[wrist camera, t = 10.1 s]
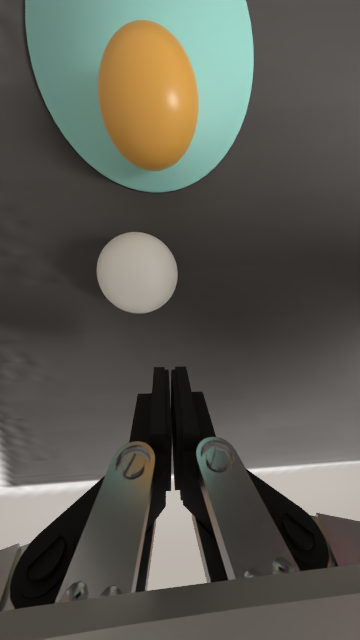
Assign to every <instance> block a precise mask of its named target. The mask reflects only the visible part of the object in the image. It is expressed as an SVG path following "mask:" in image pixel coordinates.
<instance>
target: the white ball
mask: <svg viewBox="0 0 360 640" xmlns="http://www.w3.org/2000/svg"><path fill="white" fill-rule="evenodd" d="M177 278H178V272H177V265H176V262H175V259H174V257H173V255H172V253H171V251H170V250H169V249H168V247H167V246H166V245H165V244H164V243H163V242H162V241H160V240H159V239H157V238H156V237H154V236H152V235H149V234H146V233H142V232H129V233H124V234H121V235H119V236H117V237H115V238H113V239H112V240H111V241H110V242H109V243H108V244H107V245H106V246H105V247H104V248H103V250H102V251H101V254H100V256H99V259H98V262H97V279H98V283H99V286H100V288H101V290H102V292H103V294H104V295H105V297H106V298H107V299H108V300H109V301H110V302H111V303H112V304H114V305H115V306H116V307H118V308H120V309H122V310H124V311H127V312H131V313H148V312H151V311H154V310H156V309H158V308H160V307H161V306H163V305H164V304H165V303H166V302H167V301H168V300H169V299H170V298H171V296H172V294H173V292H174V290H175V288H176V284H177Z"/></svg>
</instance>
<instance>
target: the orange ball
mask: <svg viewBox="0 0 360 640" xmlns="http://www.w3.org/2000/svg"><path fill="white" fill-rule="evenodd" d="M98 100H99V107H100V112H101V116H102V119H103V122H104V125H105V128H106V131H107V133H108V135H109V137H110V139H111V141H112V142H113V144H114V146H115V147H116V148H117V150H118V151H119V152H120V153H121V155H122V156H123V157H124V158H125V159H126V160H128V161H129V162H130V163H131V164H133V165H134V166H136V167H138V168H140V169H143V170H147V171H162V170H165V169H168V168H170V167H172V166H173V165H175V164H176V163H177V162H178V161H179V160H180V159H181V158H182V157H183V156H184V154H185V153H186V152H187V150H188V148H189V146H190V144H191V142H192V140H193V137H194V134H195V131H196V127H197V121H198V112H199V96H198V88H197V82H196V77H195V73H194V70H193V67H192V65H191V62H190V59H189V57H188V55H187V53H186V51H185V50H184V48H183V46H182V45H181V44H180V42H179V41H178V40H177V38H176V37H175V36H174V35H173V34H172V33H171V32H170V31H169V30H167V29H166V28H165V27H163V26H162V25H160V24H158V23H156V22H153V21H149V20H135V21H132V22H129V23H127V24H125V25H123V26H122V27H121V28H120V29H119V30H117V31H116V32H115V33H114V35H113V36H112V37H111V39H110V40H109V42H108V44H107V46H106V48H105V50H104V52H103V55H102V59H101V62H100V67H99V73H98Z"/></svg>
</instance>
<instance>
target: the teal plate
mask: <svg viewBox="0 0 360 640" xmlns="http://www.w3.org/2000/svg"><path fill="white" fill-rule="evenodd" d="M135 20H149V21H153V22H156V23H158V24H160V25H162V26H163V27H165V28H166V29H167V30H169V31H170V32H171V33H172V34H173V35H174V36H175V37H176V38H177V40H178V41H179V42H180V44H181V45H182V46H183V48H184V50H185V51H186V53H187V55H188V57H189V59H190V62H191V65H192V67H193V70H194V73H195V77H196V82H197V88H198V96H199V112H198V121H197V127H196V131H195V134H194V137H193V140H192V142H191V144H190V146H189V148H188V150H187V152H186V153H185V154H184V156H183V157H182V158H181V159H180V160H179V161H178V162H177V163H176V164H175V165H173V166H172V167H170V168H168V169H165V170H162V171H147V170H143V169H140V168H138V167H136V166H134V165H133V164H131V163H130V162H129V161H128V160H126V159H125V158H124V157H123V156H122V155H121V153H120V152H119V151H118V150H117V148H116V147H115V146H114V144H113V142H112V141H111V139H110V137H109V135H108V133H107V131H106V128H105V125H104V122H103V119H102V116H101V112H100V107H99V100H98V73H99V67H100V62H101V59H102V55H103V52H104V50H105V48H106V46H107V44H108V42H109V40H110V39H111V37H112V36H113V35H114V33H115V32H116V31H117V30H119V29H120V28H121V27H122V26H123V25H125V24H127V23H129V22H132V21H135ZM25 24H26V34H27V43H28V49H29V54H30V59H31V63H32V68H33V71H34V74H35V77H36V81H37V84H38V87H39V89H40V92H41V94H42V96H43V99H44V101H45V104H46V106H47V108H48V110H49V112H50V113H51V115H52V117H53V119H54V121H55V123H56V124H57V126H58V127H59V129H60V130H61V132H62V133H63V135H64V136H65V138H66V139H67V140H68V142H69V143H70V144H71V145H72V147H73V148H74V149H75V150H76V152H77V153H78V154H79V155H80V156H81V157H82V158H83V159H84V160H85V161H86V162H87V163H88V164H89V165H91V166H92V167H93V168H94V169H96V170H97V171H98V172H99V173H101V174H102V175H104V176H106V177H107V178H109V179H110V180H112V181H114V182H116V183H118V184H120V185H123V186H125V187H128V188H131V189H134V190H138V191H144V192H151V193H163V192H169V191H175V190H178V189H181V188H185V187H187V186H189V185H191V184H193V183H195V182H197V181H199V180H200V179H201V178H203V177H204V176H206V175H207V174H208V173H209V172H210V171H211V170H213V169H214V168H215V167H216V166H217V165H218V163H219V162H220V161H221V160H222V159H223V157H224V156H225V155H226V153H227V152H228V150H229V149H230V147H231V146H232V144H233V142H234V140H235V138H236V136H237V134H238V132H239V130H240V128H241V125H242V123H243V120H244V117H245V114H246V111H247V107H248V103H249V99H250V93H251V87H252V80H253V64H254V58H253V38H252V30H251V22H250V17H249V13H248V8H247V3H246V0H25Z"/></svg>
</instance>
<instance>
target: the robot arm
mask: <svg viewBox="0 0 360 640" xmlns="http://www.w3.org/2000/svg"><path fill="white" fill-rule="evenodd" d="M172 445H173V463H174V481H175V490H180V495H181V500H183V505H184V506H185V507H186V508H187V509H188V510H189V511H190V512H191V513H192V519H193V524H194V529H195V533H196V537H197V542H198V546H199V550H200V555H201V558H202V563H203V567H204V572H205V576H206V580H207V583H204V584H196V585H189V586H181V587H174V588H166V589H159V590H151V591H147V585H148V577H149V570H150V563H151V556H152V548H153V541H154V534H155V526H156V518H157V517H158V516H159V514H160V513H161V512H162V510H163V509H164V508H165V506H166V491H171V454H172ZM0 640H360V521H354V520H349V519H344V518H339V517H334V516H329V515H324V514H319V513H316V516H310V515H309V514H308V513H306V512H305V511H304V510H303V509H302V508H300V507H299V506H298V505H296V504H295V503H293V502H292V501H290V500H289V499H288V498H286V497H285V496H283V495H282V494H280V493H279V492H277V491H276V490H275V489H274V488H272V487H271V486H269V485H268V484H266V483H265V482H264V481H262V480H261V479H260V478H258V477H257V476H255V475H254V474H252V473H251V472H250V471H248V470H247V469H245V467H244V465H243V463H242V461H241V460H240V458H239V456H238V454H237V452H236V450H235V449H234V448H233V446H232V445H231V444H230V443H228V442H227V441H226V440H224V439H222V438H218V437H216V435H215V432H214V429H213V425H212V422H211V419H210V415H209V412H208V409H207V405H206V402H205V399H204V395H203V393H202V392H191V388H190V383H189V379H188V374H187V369H186V367H175V370H172V373H171V407H170V389H169V371H168V370H164V367H154V375H153V389H152V393H151V394H138V397H137V402H136V408H135V413H134V419H133V425H132V430H131V436H130V441H129V443H127V444H125V445H124V446H122V447H121V448H120V449H119V450H118V451H117V452H116V453H115V455H114V456H113V458H112V460H111V463H110V465H109V468H108V470H107V473H106V475H105V476H104V477H103V478H102V479H101V480H100V481H99V482H97V483H96V484H95V485H94V486H93V487H92V488H91V489H90V490H88V491H87V492H86V493H85V494H84V495H83V496H82V497H80V499H78V500H77V501H76V502H75V503H74V504H73V505H71V506H70V507H69V508H68V509H67V510H66V511H65V512H63V513H62V514H61V515H60V516H59V517H58V518H57V519H56V520H54V521H53V522H52V523H51V524H50V525H49V526H48V527H47V528H46V529H44V530H43V531H42V532H41V533H40V534H39V535H38V536H37V537H36V538H35V539H34V540H33V541H32V542H31V543H30V544H27V545H24V546H21V547H20V545H19V544H15V545H13V546H10V547H8V548H5V549H2V550H0Z"/></svg>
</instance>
